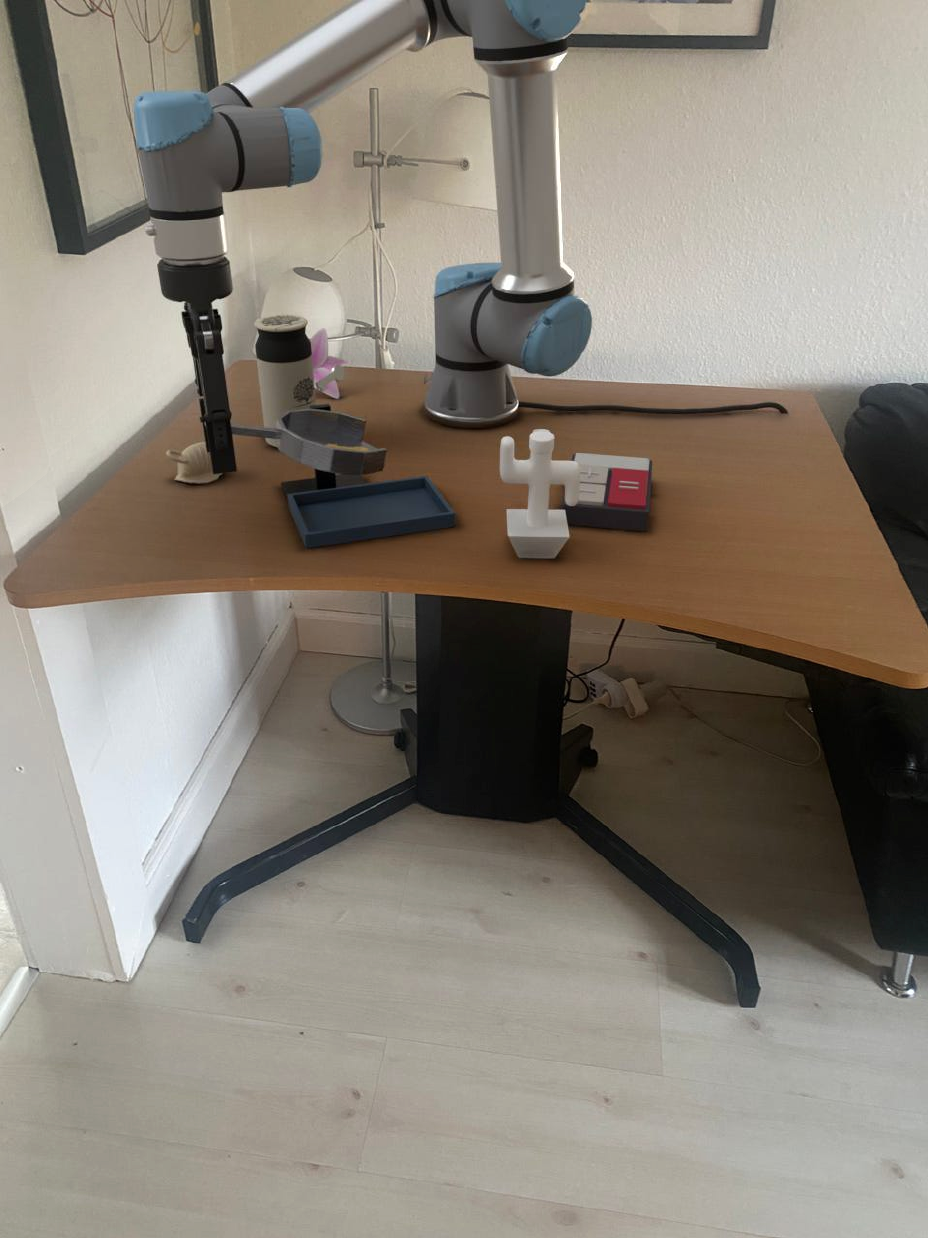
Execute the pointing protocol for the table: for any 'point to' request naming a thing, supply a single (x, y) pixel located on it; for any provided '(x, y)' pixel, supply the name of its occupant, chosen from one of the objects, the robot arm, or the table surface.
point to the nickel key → (331, 377)
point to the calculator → (611, 492)
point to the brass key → (348, 447)
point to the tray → (369, 511)
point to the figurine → (538, 496)
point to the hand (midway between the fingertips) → (221, 460)
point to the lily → (324, 362)
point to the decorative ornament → (194, 464)
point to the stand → (321, 476)
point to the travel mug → (284, 367)
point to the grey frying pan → (321, 441)
